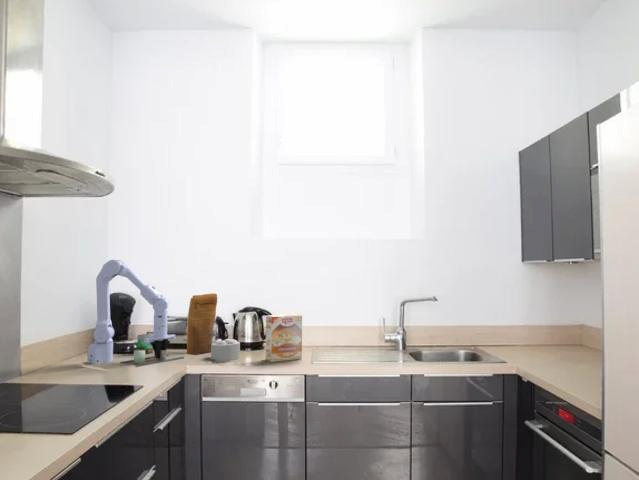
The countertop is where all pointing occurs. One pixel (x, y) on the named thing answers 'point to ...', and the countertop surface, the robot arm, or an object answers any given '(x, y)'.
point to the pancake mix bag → (201, 323)
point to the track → (152, 362)
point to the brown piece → (162, 357)
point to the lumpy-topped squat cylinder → (225, 350)
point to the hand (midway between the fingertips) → (159, 357)
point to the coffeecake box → (283, 337)
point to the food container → (145, 346)
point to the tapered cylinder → (139, 356)
